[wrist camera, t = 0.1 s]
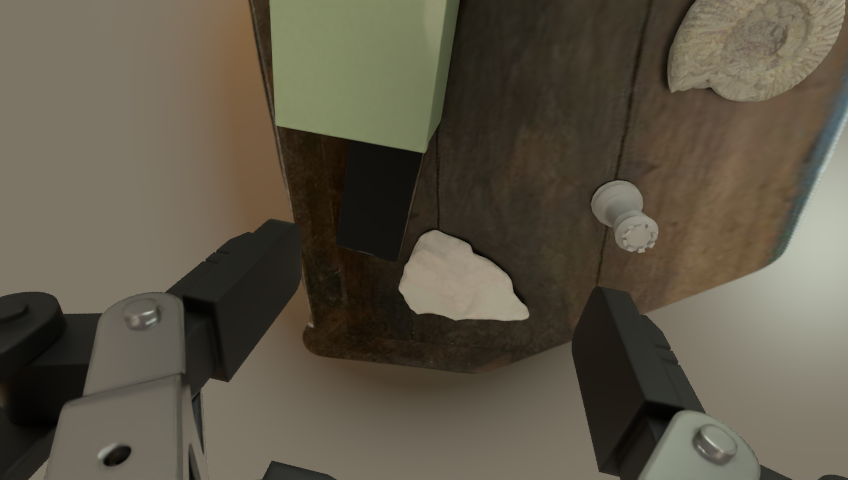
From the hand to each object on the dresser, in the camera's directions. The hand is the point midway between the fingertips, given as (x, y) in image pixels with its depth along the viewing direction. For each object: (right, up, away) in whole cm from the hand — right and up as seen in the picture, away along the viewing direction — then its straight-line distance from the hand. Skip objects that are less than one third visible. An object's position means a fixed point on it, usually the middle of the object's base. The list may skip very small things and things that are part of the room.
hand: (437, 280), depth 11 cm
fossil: (+24, +17, +20) cm, 36 cm away
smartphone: (-5, +6, +31) cm, 32 cm away
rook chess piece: (+18, +5, +28) cm, 34 cm away
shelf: (-4, +18, +24) cm, 31 cm away
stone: (+5, -4, +35) cm, 36 cm away
